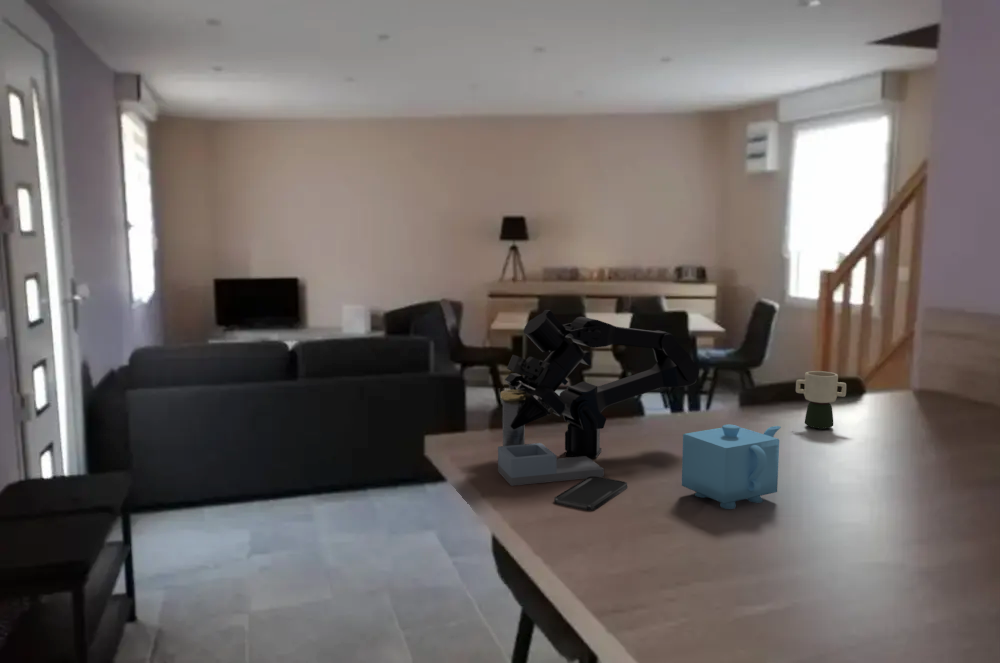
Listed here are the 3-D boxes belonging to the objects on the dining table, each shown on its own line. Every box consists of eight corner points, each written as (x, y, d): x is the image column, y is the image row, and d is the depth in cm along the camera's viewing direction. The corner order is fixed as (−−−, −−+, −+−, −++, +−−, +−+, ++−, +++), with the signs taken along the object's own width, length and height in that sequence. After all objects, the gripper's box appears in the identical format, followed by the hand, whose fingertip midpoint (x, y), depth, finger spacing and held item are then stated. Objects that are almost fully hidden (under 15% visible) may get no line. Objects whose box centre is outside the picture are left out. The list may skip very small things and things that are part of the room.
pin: (529, 454, 157) (529, 390, 155) (522, 461, 152) (522, 395, 150) (505, 451, 158) (505, 388, 157) (497, 458, 153) (497, 394, 152)
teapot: (734, 518, 125) (737, 441, 123) (671, 490, 139) (673, 420, 137) (812, 500, 133) (816, 427, 131) (745, 475, 147) (748, 409, 145)
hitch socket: (585, 463, 155) (586, 439, 154) (603, 476, 146) (604, 451, 146) (498, 471, 150) (498, 446, 149) (511, 485, 141) (511, 459, 141)
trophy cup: (844, 426, 182) (847, 372, 181) (843, 433, 176) (846, 378, 174) (795, 422, 187) (797, 369, 185) (793, 428, 180) (795, 374, 179)
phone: (551, 498, 132) (591, 475, 145) (551, 505, 132) (591, 481, 145) (593, 507, 128) (630, 482, 140) (593, 514, 128) (629, 488, 141)
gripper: (513, 335, 162) (464, 390, 159) (552, 347, 145) (498, 409, 142) (547, 369, 166) (499, 423, 163) (588, 385, 149) (536, 446, 146)
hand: (507, 425), depth 154 cm, fingers closed on pin, 4 cm apart
